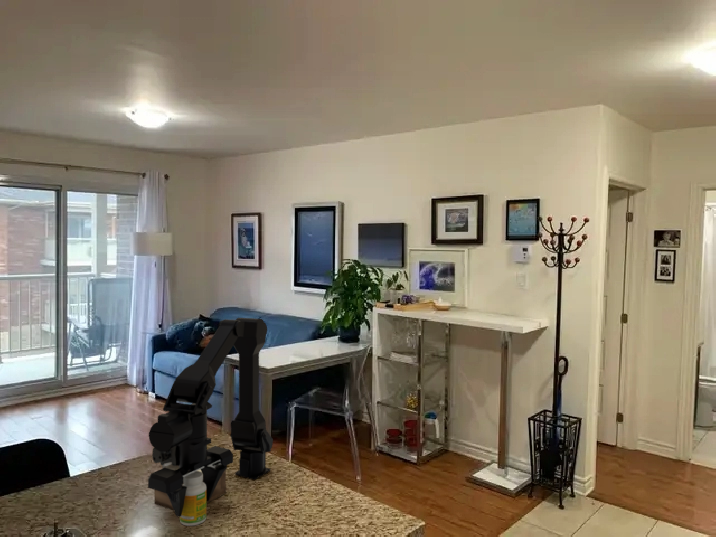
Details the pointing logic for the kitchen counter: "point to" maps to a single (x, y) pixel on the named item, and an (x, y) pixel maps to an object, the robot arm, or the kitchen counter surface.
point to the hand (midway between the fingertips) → (193, 508)
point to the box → (164, 499)
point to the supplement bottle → (194, 500)
